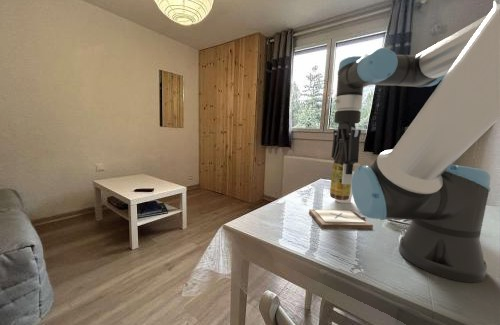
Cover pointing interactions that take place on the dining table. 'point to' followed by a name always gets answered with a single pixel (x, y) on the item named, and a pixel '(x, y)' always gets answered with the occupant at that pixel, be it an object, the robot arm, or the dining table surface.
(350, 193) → the foam cup
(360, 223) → the wooden board
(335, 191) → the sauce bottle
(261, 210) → the dining table surface
